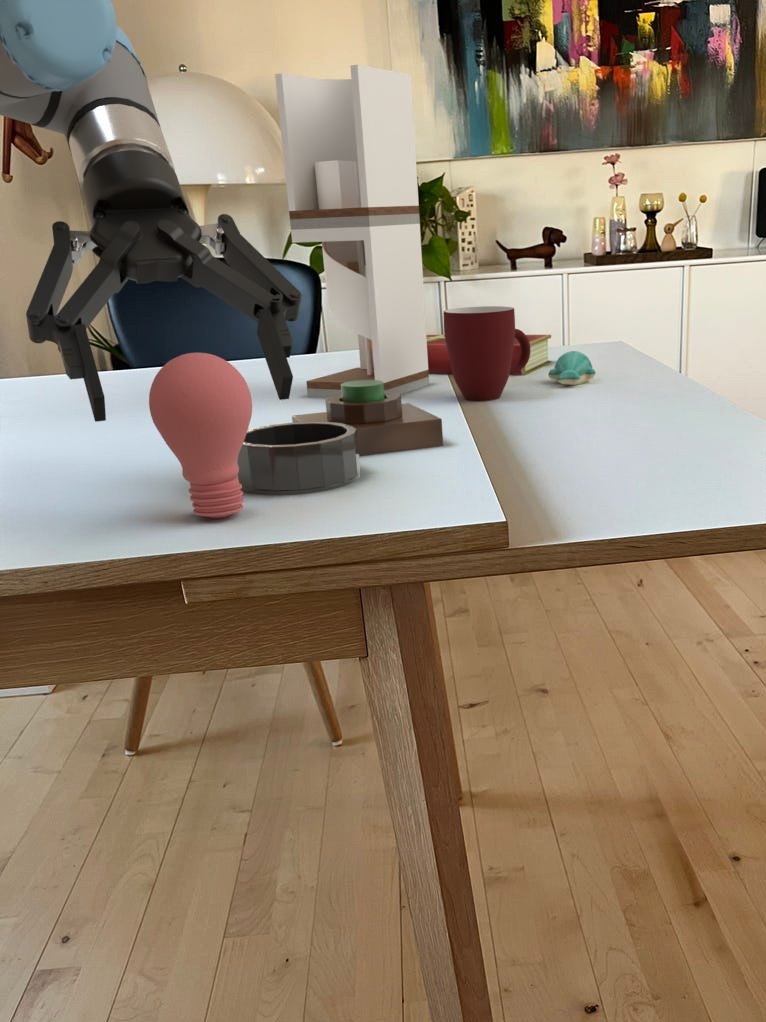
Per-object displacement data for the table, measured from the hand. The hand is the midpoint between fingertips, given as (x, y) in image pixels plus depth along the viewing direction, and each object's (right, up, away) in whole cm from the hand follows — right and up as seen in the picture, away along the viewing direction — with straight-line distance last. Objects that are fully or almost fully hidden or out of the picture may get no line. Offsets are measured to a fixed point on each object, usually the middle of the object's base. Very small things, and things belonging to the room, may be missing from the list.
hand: (196, 399), depth 76 cm
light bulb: (+1, -9, +1) cm, 9 cm away
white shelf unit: (+7, +13, +53) cm, 55 cm away
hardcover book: (+19, +20, +68) cm, 74 cm away
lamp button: (+10, +5, +22) cm, 25 cm away
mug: (+22, +11, +46) cm, 52 cm away
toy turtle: (+32, +14, +52) cm, 63 cm away
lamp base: (+10, +1, +23) cm, 26 cm away
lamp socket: (+6, -4, +11) cm, 13 cm away
